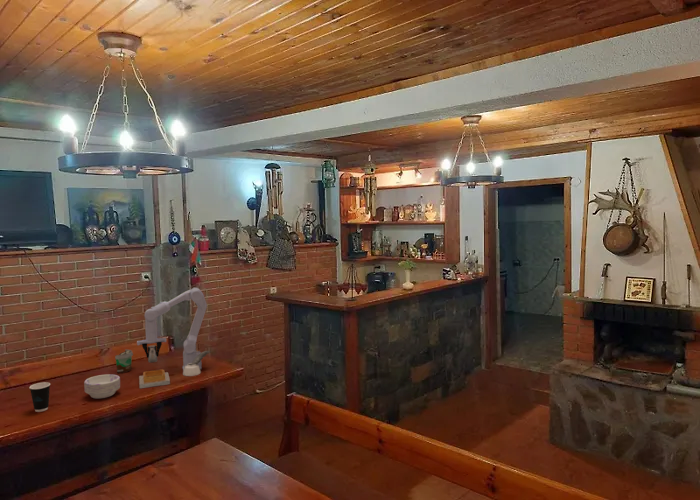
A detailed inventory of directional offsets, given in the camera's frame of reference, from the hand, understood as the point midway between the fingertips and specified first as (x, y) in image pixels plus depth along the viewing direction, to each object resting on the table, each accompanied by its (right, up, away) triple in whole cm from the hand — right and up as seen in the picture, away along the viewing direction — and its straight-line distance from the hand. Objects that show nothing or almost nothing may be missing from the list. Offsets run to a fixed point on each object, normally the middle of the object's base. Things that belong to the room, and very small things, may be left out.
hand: (152, 356), depth 271 cm
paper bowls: (-11, -12, -31) cm, 35 cm away
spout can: (+1, -2, -1) cm, 3 cm away
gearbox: (+6, -10, -14) cm, 18 cm away
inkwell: (+24, -9, +2) cm, 25 cm away
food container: (-16, -9, +6) cm, 19 cm away
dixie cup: (-30, -13, -48) cm, 58 cm away
